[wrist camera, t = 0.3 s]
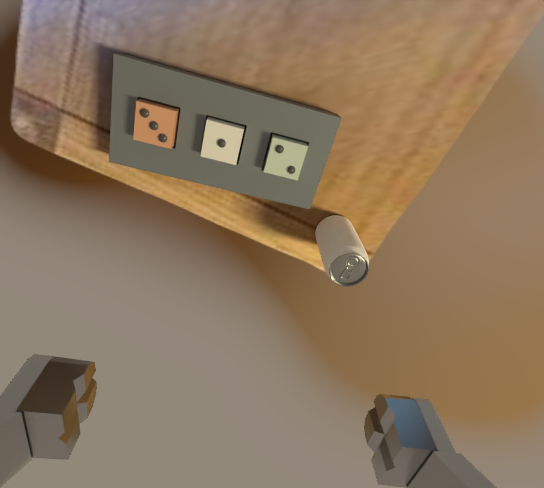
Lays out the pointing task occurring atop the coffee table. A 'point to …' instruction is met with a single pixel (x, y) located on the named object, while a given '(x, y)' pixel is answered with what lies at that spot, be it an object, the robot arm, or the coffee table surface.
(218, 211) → the coffee table surface
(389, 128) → the coffee table surface
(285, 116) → the button board
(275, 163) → the two dot button
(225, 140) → the one dot button
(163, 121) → the three dot button
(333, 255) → the can
